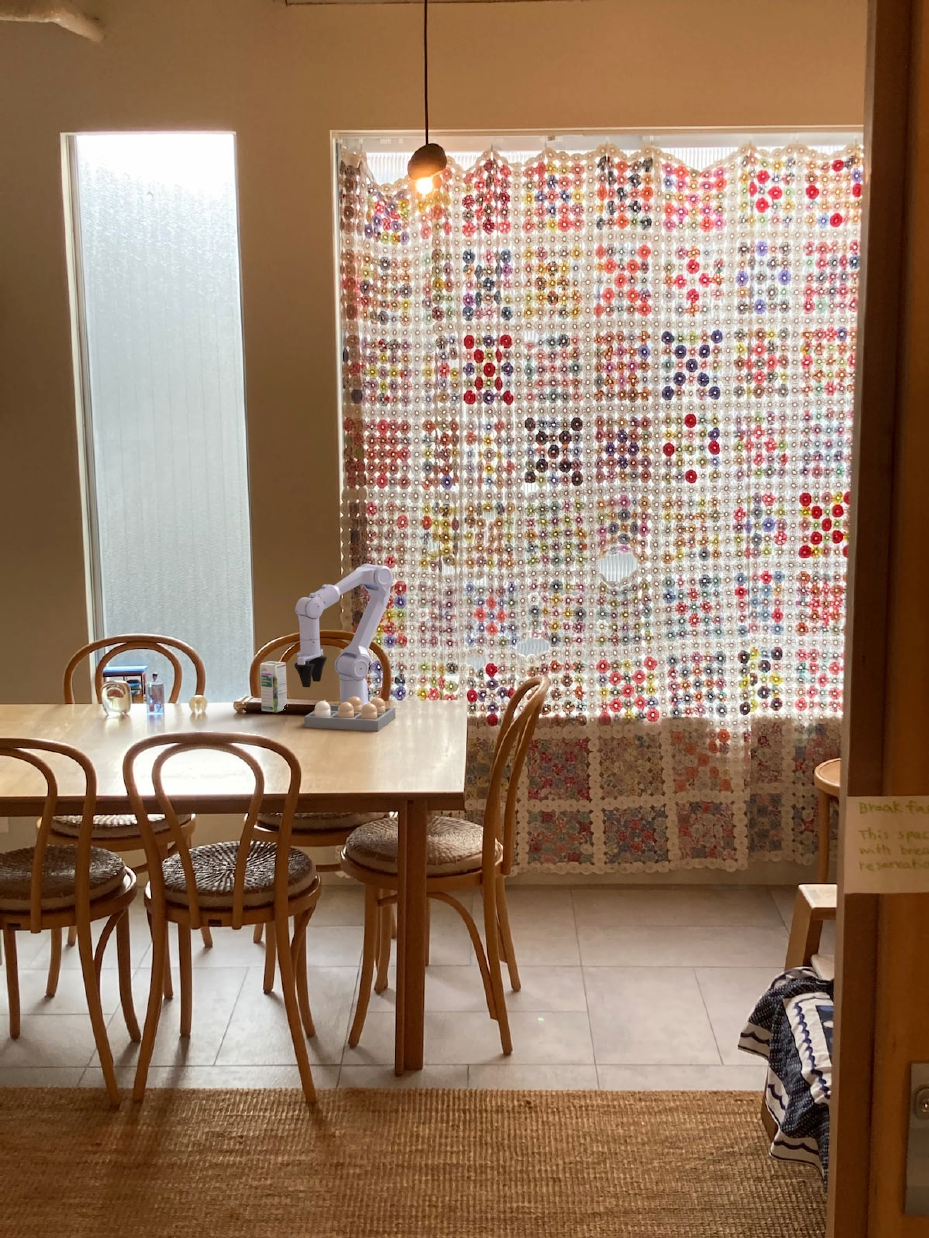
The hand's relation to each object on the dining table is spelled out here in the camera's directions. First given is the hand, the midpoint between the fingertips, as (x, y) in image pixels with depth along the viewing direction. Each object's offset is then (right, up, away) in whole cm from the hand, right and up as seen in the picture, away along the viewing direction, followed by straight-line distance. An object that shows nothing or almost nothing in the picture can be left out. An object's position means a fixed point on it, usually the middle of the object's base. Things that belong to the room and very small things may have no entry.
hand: (311, 684), depth 339 cm
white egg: (+4, -10, -9) cm, 15 cm away
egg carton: (+12, -11, -7) cm, 18 cm away
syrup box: (-12, -8, +9) cm, 17 cm away
